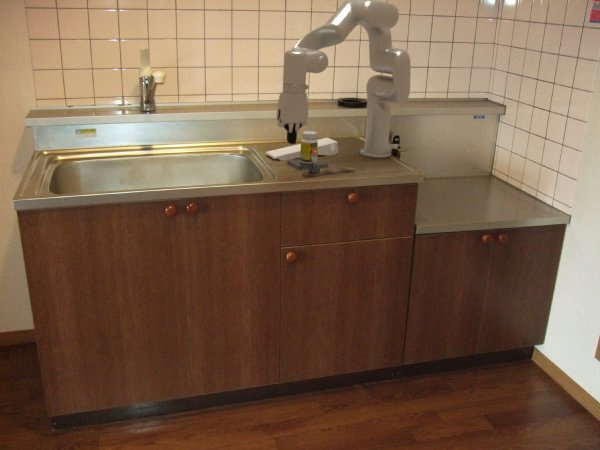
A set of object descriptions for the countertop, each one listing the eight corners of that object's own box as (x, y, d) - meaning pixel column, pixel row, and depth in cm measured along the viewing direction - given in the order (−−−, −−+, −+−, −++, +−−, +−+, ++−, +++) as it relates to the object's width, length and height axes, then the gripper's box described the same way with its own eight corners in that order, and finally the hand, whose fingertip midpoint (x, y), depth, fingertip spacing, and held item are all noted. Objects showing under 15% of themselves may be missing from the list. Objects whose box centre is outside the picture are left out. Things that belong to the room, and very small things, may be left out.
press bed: (314, 160, 236) (315, 157, 236) (327, 167, 228) (327, 164, 227) (287, 163, 231) (287, 160, 230) (299, 170, 223) (299, 167, 222)
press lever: (316, 170, 219) (317, 149, 216) (319, 172, 216) (320, 150, 214) (308, 171, 217) (309, 149, 214) (311, 172, 215) (312, 151, 212)
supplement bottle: (311, 165, 225) (312, 135, 221) (296, 162, 228) (297, 132, 224) (320, 161, 230) (321, 132, 226) (305, 158, 233) (306, 129, 229)
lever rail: (349, 169, 226) (349, 167, 225) (353, 171, 223) (354, 169, 223) (302, 175, 217) (302, 172, 216) (305, 177, 214) (306, 174, 214)
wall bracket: (276, 175, 236) (338, 159, 246) (276, 159, 231) (339, 143, 242) (265, 162, 243) (326, 148, 253) (265, 146, 238) (327, 132, 249)
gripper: (308, 86, 208) (305, 139, 215) (268, 87, 202) (267, 142, 208) (319, 90, 202) (315, 144, 209) (278, 91, 196) (276, 147, 202)
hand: (291, 143), depth 208 cm, fingers closed
